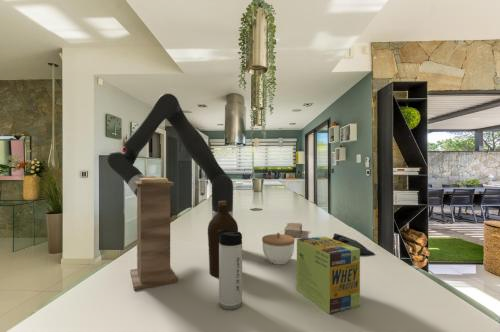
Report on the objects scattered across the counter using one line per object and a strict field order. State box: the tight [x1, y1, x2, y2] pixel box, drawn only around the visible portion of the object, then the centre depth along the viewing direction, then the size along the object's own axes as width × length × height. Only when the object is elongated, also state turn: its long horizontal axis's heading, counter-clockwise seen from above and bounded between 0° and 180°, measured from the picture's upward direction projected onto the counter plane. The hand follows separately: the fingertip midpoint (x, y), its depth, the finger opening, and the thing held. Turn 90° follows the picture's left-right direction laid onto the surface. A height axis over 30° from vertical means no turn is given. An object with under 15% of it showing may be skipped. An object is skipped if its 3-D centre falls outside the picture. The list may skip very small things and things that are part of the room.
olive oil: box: [207, 201, 239, 278], centre depth 97 cm, size 11×11×25 cm
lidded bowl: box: [261, 232, 296, 265], centre depth 108 cm, size 13×13×11 cm
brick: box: [283, 222, 303, 239], centre depth 151 cm, size 17×8×5 cm, turn 165°
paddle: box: [139, 175, 169, 183], centre depth 96 cm, size 21×8×2 cm, turn 26°
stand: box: [130, 180, 179, 292], centre depth 92 cm, size 15×13×32 cm
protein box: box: [296, 236, 361, 315], centre depth 78 cm, size 10×15×16 cm
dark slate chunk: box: [331, 233, 375, 256], centre depth 125 cm, size 15×22×5 cm
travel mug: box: [218, 230, 243, 311], centre depth 74 cm, size 6×7×20 cm
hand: (166, 216), depth 107 cm, fingers open, 8 cm apart
